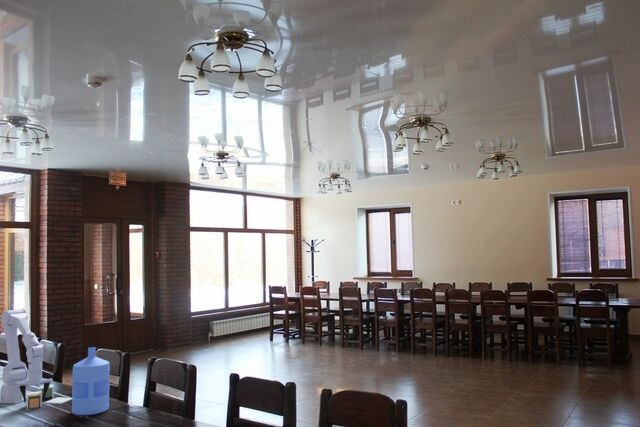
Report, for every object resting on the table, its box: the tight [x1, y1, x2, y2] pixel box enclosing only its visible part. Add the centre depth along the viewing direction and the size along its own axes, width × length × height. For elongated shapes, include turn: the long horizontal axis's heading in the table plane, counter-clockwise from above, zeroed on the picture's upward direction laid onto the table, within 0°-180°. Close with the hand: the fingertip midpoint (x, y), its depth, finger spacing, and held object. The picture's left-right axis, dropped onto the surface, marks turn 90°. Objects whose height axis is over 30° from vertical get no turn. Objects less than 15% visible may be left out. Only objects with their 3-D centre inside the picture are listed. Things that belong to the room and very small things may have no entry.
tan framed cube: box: [26, 390, 43, 410], centre depth 246 cm, size 6×6×6 cm
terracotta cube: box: [28, 396, 40, 409], centre depth 246 cm, size 4×4×4 cm
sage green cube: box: [39, 383, 55, 400], centre depth 260 cm, size 6×6×6 cm
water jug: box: [70, 346, 111, 416], centre depth 239 cm, size 16×16×28 cm
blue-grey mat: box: [44, 396, 72, 405], centre depth 255 cm, size 9×9×1 cm
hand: (34, 400), depth 246 cm, fingers open, 7 cm apart
